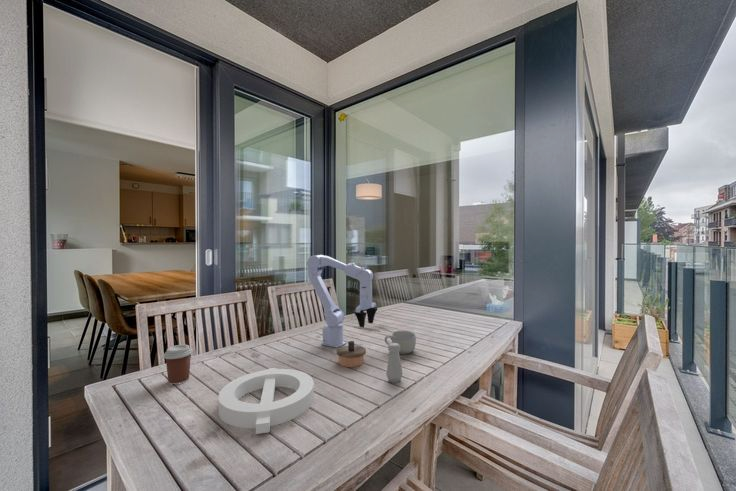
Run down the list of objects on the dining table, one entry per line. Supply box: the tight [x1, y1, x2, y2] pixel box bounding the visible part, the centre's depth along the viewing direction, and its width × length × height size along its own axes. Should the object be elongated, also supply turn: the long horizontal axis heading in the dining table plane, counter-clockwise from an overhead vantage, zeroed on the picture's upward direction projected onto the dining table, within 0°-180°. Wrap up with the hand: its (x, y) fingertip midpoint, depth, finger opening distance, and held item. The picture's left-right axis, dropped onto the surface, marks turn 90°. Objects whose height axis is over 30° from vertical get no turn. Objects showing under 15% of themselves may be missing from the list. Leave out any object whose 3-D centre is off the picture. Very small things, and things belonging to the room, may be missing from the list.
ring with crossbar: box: [217, 367, 315, 435], centre depth 98 cm, size 28×28×5 cm
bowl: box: [338, 355, 364, 368], centre depth 129 cm, size 10×10×4 cm
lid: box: [336, 340, 367, 358], centre depth 129 cm, size 12×12×4 cm
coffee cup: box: [162, 344, 194, 385], centre depth 113 cm, size 9×9×12 cm
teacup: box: [384, 330, 417, 355], centre depth 141 cm, size 14×11×8 cm
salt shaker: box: [385, 342, 404, 384], centre depth 112 cm, size 6×6×13 cm
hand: (366, 325), depth 147 cm, fingers open, 7 cm apart
